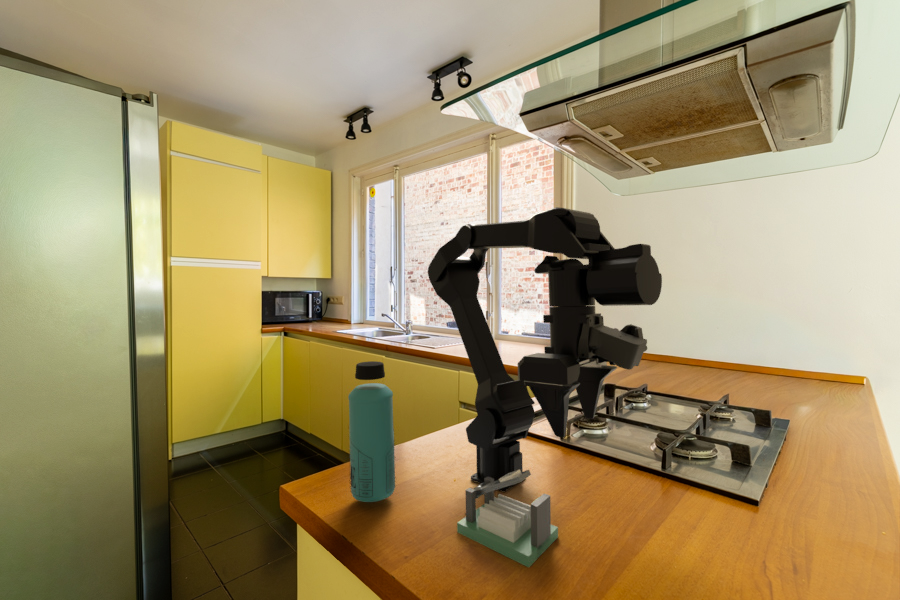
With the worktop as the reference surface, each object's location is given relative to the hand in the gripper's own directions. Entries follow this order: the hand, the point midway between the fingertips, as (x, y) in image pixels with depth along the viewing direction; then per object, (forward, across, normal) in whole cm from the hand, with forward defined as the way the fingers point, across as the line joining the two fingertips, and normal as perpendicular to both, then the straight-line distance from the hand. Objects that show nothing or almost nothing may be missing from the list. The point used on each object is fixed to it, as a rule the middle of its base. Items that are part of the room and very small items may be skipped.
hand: (575, 426), depth 52 cm
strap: (+7, -9, +6) cm, 12 cm away
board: (+12, -8, +6) cm, 16 cm away
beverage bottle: (+12, -14, +25) cm, 31 cm away
